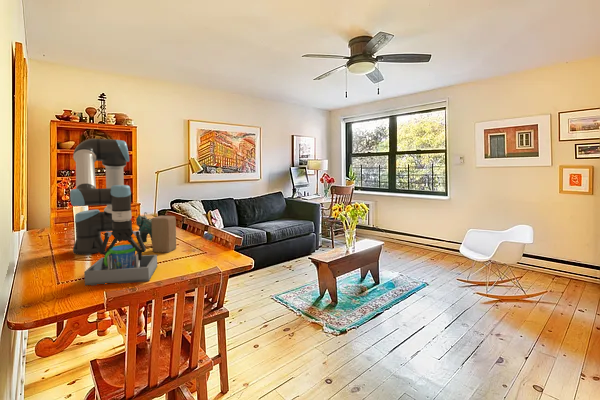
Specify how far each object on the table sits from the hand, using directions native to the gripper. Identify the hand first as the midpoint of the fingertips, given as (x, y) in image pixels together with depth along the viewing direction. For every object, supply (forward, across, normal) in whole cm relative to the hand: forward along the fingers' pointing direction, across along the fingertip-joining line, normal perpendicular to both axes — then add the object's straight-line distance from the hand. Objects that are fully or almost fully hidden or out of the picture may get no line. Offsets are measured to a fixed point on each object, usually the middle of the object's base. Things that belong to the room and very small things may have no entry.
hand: (124, 268), depth 139 cm
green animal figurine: (+4, -1, +59) cm, 59 cm away
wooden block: (+4, +11, +40) cm, 42 cm away
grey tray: (+3, 0, 0) cm, 3 cm away
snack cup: (+1, 0, 0) cm, 1 cm away
